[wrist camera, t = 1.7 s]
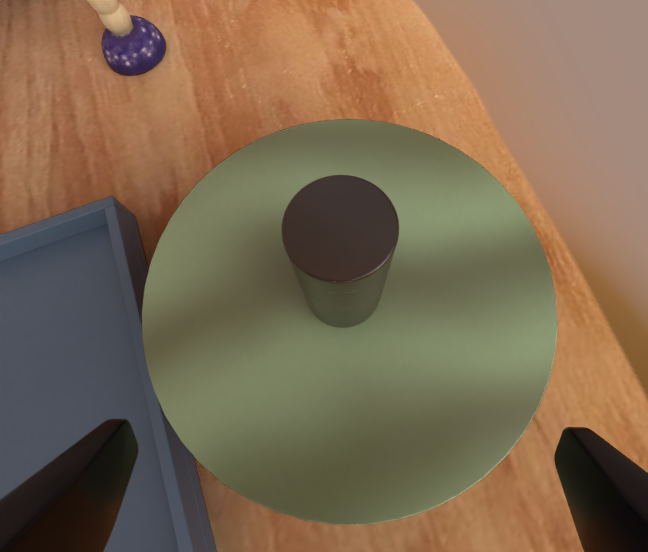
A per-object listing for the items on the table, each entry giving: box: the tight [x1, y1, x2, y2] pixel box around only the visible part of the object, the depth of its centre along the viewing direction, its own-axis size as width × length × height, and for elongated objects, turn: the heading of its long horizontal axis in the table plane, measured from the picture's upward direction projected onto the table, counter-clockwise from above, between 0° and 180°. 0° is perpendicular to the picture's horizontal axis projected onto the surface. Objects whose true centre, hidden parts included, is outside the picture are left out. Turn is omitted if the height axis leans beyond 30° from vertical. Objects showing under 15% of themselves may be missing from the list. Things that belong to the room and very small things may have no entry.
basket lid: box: [142, 119, 558, 525], centre depth 13 cm, size 16×16×7 cm
